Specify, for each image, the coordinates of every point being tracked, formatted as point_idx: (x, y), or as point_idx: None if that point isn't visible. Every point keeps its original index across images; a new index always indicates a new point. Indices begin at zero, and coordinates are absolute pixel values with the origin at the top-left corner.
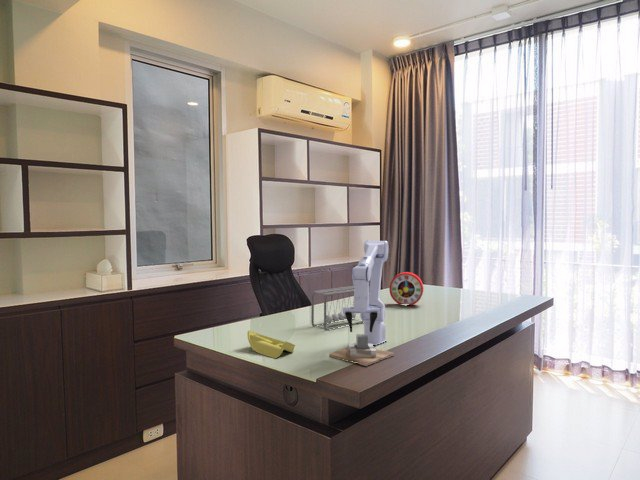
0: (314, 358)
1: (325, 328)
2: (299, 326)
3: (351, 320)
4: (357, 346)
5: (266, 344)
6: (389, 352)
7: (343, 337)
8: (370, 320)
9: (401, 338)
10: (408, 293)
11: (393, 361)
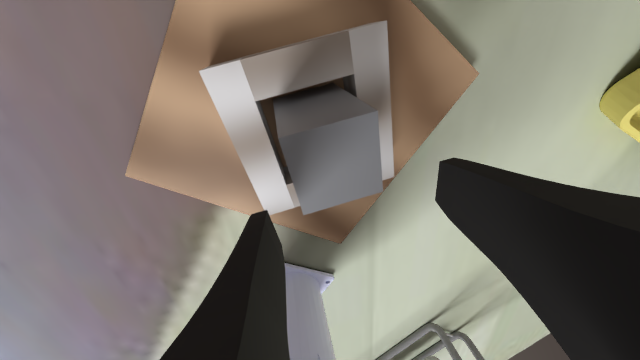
0: (548, 12)
1: (437, 326)
2: (488, 321)
3: (617, 219)
4: (348, 93)
5: None
6: (160, 179)
7: (387, 296)
8: (275, 357)
9: None
10: None
11: (82, 53)
